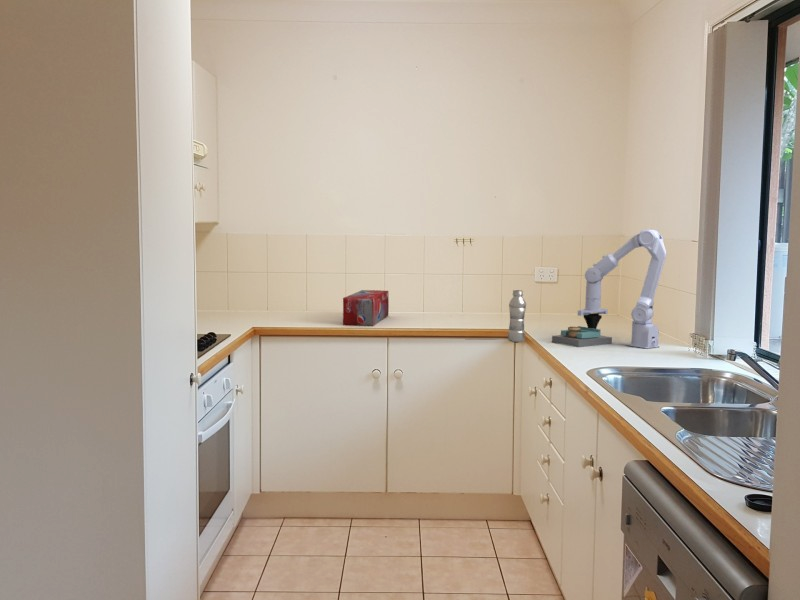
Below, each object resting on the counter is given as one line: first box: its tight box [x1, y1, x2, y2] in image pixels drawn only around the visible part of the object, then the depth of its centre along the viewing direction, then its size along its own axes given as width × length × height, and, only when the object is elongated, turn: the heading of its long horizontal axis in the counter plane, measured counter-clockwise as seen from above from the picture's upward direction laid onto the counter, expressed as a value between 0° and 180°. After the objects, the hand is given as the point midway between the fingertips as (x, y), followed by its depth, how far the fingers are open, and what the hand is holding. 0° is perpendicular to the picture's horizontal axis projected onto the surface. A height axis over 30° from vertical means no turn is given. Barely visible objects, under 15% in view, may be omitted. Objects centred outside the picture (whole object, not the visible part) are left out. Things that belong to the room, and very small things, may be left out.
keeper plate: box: [560, 325, 602, 338], centre depth 315 cm, size 11×10×3 cm
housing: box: [551, 334, 613, 348], centre depth 316 cm, size 14×18×2 cm
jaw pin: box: [567, 326, 581, 339], centre depth 313 cm, size 5×5×6 cm
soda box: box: [342, 289, 390, 327], centre depth 376 cm, size 40×14×13 cm, turn 171°
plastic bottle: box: [507, 289, 527, 344], centre depth 313 cm, size 6×7×20 cm
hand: (591, 333), depth 318 cm, fingers closed
